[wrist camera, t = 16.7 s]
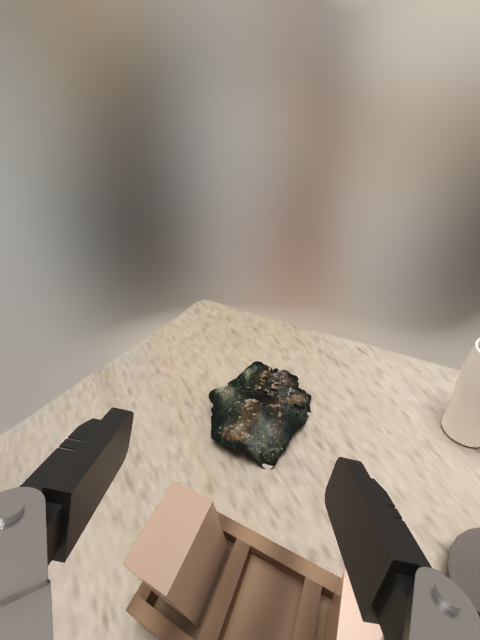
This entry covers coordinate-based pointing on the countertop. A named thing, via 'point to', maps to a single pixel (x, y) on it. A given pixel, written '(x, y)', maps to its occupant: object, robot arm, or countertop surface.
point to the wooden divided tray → (249, 596)
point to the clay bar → (348, 616)
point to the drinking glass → (465, 403)
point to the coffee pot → (466, 564)
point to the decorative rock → (259, 412)
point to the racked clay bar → (181, 552)
